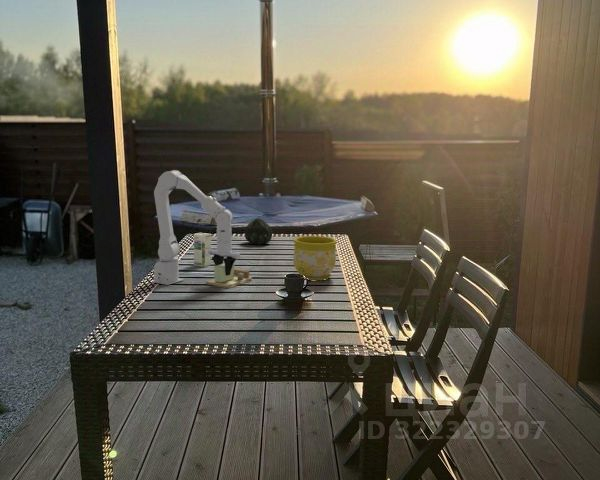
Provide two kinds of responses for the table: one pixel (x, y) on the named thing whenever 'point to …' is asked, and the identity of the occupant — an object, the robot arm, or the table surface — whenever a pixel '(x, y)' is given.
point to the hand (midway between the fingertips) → (223, 274)
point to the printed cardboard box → (202, 249)
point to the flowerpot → (314, 256)
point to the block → (222, 273)
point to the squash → (258, 232)
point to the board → (238, 279)
